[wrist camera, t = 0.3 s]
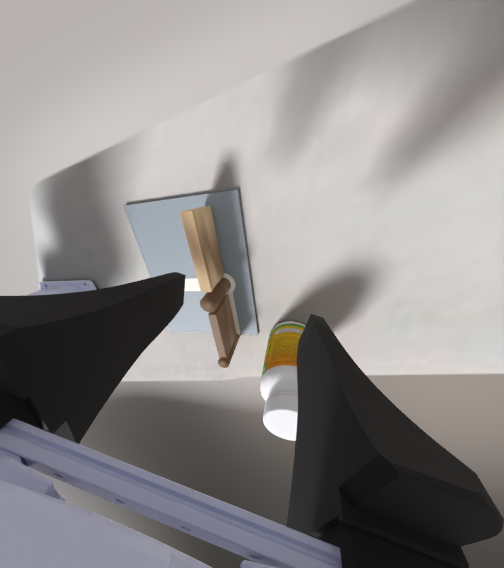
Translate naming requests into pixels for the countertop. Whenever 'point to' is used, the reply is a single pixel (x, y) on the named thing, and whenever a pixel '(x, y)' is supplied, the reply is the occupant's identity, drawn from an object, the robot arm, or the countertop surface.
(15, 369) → the robot arm
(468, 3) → the countertop surface
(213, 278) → the wooden flat block
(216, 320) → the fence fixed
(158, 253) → the card
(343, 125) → the countertop surface
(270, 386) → the supplement bottle
